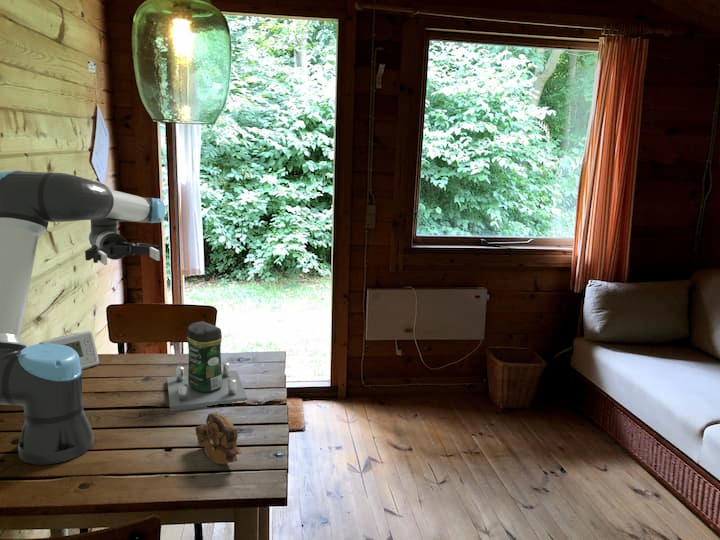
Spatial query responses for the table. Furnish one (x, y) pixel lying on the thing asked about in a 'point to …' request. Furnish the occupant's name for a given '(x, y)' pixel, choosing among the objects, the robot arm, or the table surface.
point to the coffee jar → (204, 357)
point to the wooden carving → (218, 439)
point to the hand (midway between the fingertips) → (132, 257)
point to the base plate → (192, 399)
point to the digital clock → (79, 347)
